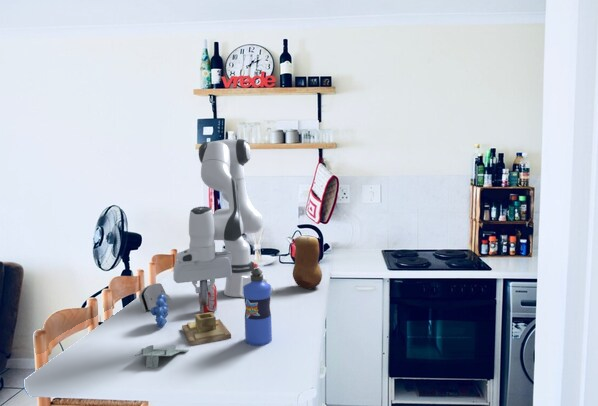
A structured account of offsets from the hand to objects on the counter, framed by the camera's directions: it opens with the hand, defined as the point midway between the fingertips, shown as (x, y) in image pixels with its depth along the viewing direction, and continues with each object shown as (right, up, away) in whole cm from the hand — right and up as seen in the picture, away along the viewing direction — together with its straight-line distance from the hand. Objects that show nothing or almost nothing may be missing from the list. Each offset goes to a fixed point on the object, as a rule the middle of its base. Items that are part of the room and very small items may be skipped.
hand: (203, 292), depth 163 cm
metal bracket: (-10, -18, -17) cm, 27 cm away
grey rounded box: (-28, -13, +34) cm, 46 cm away
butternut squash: (+38, -9, +56) cm, 68 cm away
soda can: (-3, -13, +24) cm, 28 cm away
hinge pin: (0, -5, 0) cm, 5 cm away
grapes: (-19, -15, +10) cm, 26 cm away
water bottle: (+20, -16, -5) cm, 26 cm away
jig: (0, -15, +2) cm, 15 cm away
